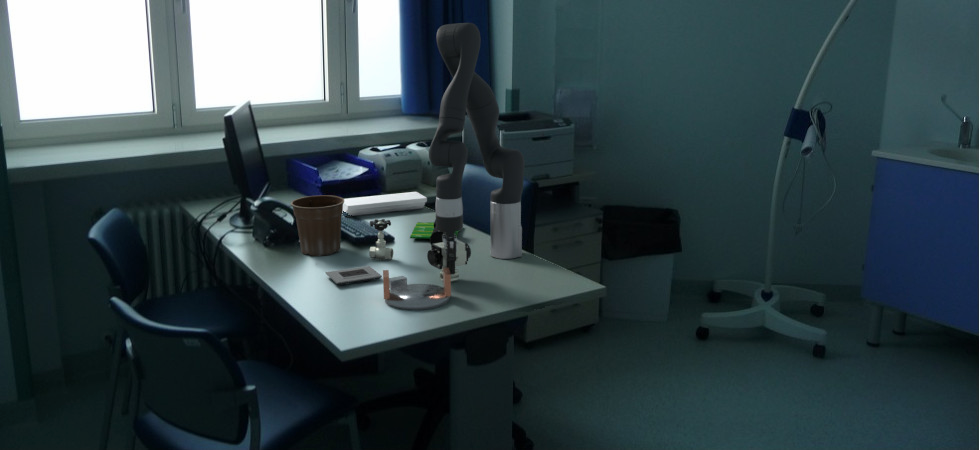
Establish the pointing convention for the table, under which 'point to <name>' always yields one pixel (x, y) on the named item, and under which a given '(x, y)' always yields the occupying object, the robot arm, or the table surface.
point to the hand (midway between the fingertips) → (450, 270)
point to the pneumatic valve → (439, 256)
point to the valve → (380, 241)
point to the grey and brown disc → (417, 294)
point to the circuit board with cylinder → (428, 232)
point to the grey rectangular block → (397, 281)
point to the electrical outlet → (353, 275)
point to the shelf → (384, 203)
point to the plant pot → (319, 223)
